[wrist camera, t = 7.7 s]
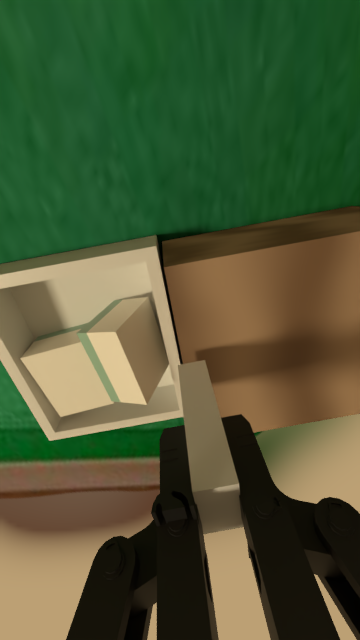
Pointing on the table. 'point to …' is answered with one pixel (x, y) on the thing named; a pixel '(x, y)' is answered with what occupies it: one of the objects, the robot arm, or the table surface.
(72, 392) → the tile
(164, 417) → the bin
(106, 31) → the table surface
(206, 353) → the walnut block
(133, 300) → the tile
